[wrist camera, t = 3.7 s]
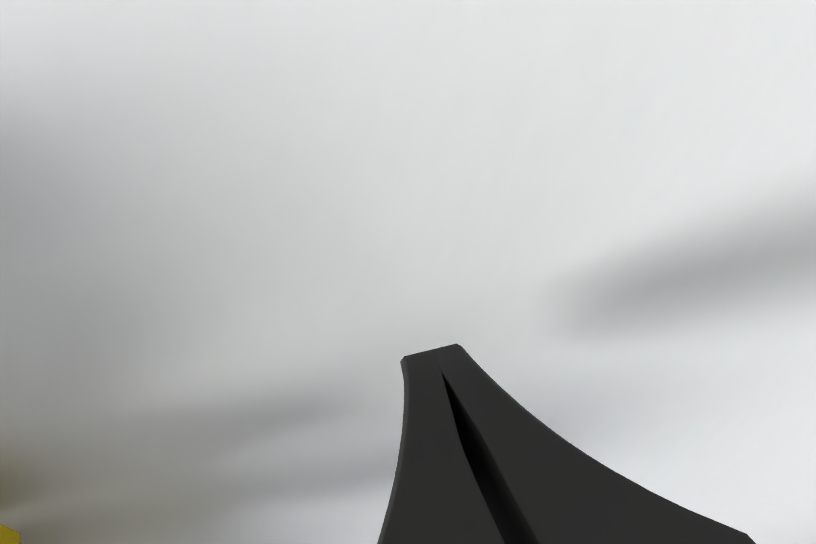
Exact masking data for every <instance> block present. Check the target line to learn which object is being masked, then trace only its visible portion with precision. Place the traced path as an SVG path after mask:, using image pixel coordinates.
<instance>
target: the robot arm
mask: <svg viewBox="0 0 816 544" xmlns="http://www.w3.org/2000/svg"><path fill="white" fill-rule="evenodd" d="M400 362H401V367H402V373H403V378H404V413H403V427H402V436H401V443H400V450H399V456H398V463H397V468H396V473H395V478H394V483H393V488H392V492H391V496H390V500H389V504H388V508H387V512H386V515H385V519H384V522H383V526H382V529H381V533H380V536H379V539H378V543H377V544H756V543H755V542H754V541H753V540H752V539H751V538H750V537H749V536H748V535H747V534H745V533H743V532H741V531H738V530H736V529H733V528H731V527H729V526H726V525H724V524H721V523H719V522H716V521H714V520H712V519H709V518H707V517H704V516H702V515H700V514H697V513H695V512H692V511H690V510H688V509H686V508H683V507H681V506H679V505H677V504H675V503H673V502H671V501H669V500H667V499H665V498H663V497H661V496H659V495H656V494H654V493H653V492H651V491H649V490H647V489H645V488H644V487H642V486H640V485H638V484H636V483H635V482H633V481H631V480H629V479H627V478H625V477H624V476H622V475H620V474H618V473H616V472H615V471H613V470H611V469H609V468H608V467H606V466H604V465H603V464H601V463H600V462H598V461H596V460H595V459H593V458H592V457H590V456H588V455H587V454H585V453H584V452H582V451H581V450H579V449H578V448H576V447H575V446H573V445H572V444H570V443H569V442H568V441H566V440H565V439H563V438H562V437H561V436H559V435H558V434H556V433H555V432H554V431H552V430H551V429H550V428H548V427H547V426H546V425H545V424H543V423H542V422H541V421H539V420H538V419H537V418H536V417H534V416H533V415H532V414H531V413H529V412H528V411H527V410H526V409H525V408H524V407H522V406H521V405H520V404H519V403H518V402H517V401H515V400H514V399H513V398H512V397H511V396H510V395H509V394H508V393H507V392H505V391H504V390H503V389H502V388H501V387H500V386H499V385H498V384H497V383H496V382H495V381H494V380H493V379H492V378H491V377H490V376H489V375H488V374H487V373H486V372H485V371H484V370H483V369H482V368H481V367H480V366H479V365H478V364H477V363H476V362H475V361H474V360H473V359H472V358H471V357H470V356H469V354H468V353H467V352H466V351H465V350H464V349H463V347H462V346H460V345H458V344H453V345H449V346H445V347H441V348H437V349H433V350H429V351H424V352H420V353H416V354H412V355H408V356H404V358H403V359H402V360H401V361H400Z"/></svg>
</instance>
